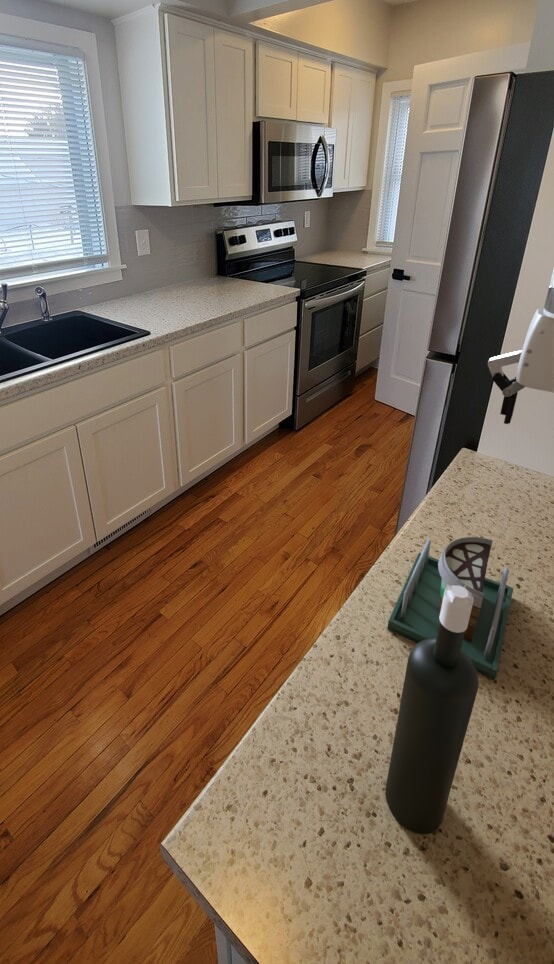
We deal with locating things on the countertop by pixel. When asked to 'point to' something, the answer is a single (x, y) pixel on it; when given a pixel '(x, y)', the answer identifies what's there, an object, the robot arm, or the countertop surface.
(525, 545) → the countertop surface
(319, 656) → the countertop surface
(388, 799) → the wine bottle
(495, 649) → the drying rack
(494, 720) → the countertop surface
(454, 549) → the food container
